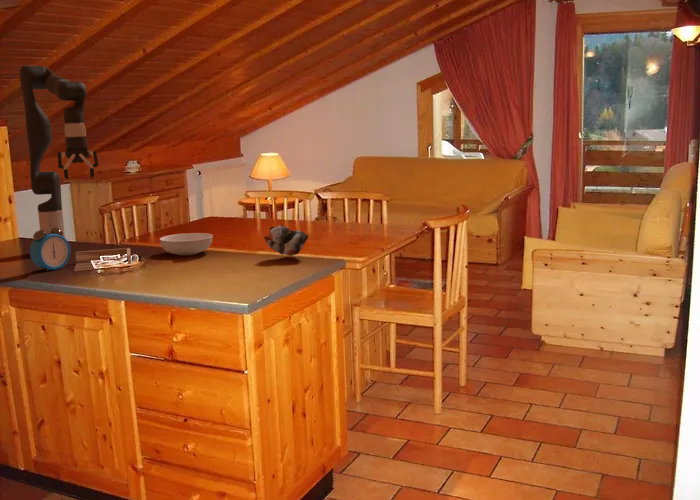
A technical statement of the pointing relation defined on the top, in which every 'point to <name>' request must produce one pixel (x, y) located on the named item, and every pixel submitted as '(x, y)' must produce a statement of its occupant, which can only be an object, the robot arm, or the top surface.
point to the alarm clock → (50, 249)
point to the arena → (97, 257)
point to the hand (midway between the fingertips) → (79, 179)
